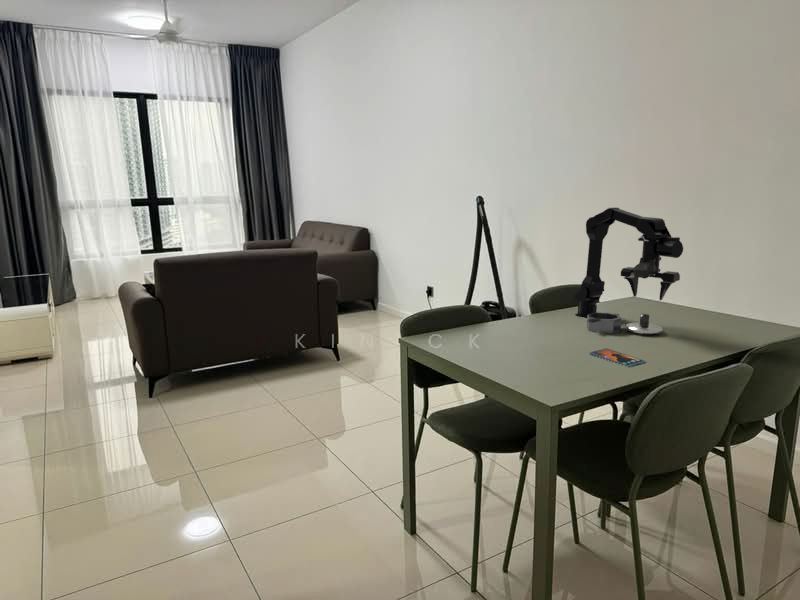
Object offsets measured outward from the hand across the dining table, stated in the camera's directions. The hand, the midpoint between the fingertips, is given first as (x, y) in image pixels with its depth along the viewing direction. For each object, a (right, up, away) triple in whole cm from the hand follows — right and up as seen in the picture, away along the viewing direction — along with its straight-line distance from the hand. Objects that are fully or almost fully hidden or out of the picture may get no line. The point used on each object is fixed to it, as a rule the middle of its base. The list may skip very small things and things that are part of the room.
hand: (647, 298), depth 200 cm
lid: (-1, -12, +2) cm, 12 cm away
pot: (-13, -11, +6) cm, 19 cm away
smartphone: (-21, -19, -27) cm, 39 cm away
